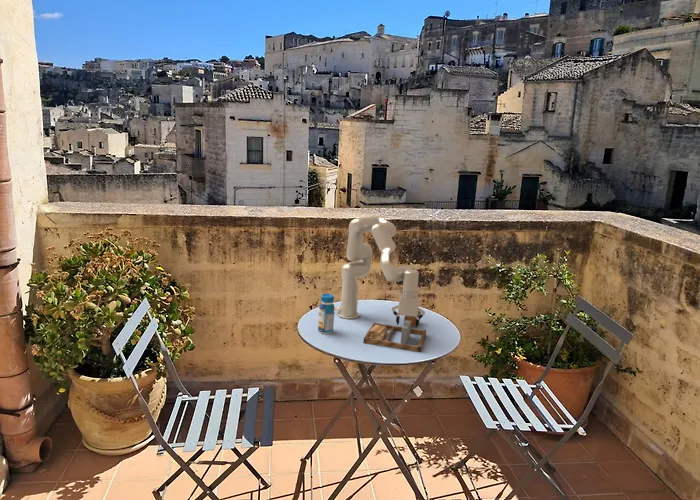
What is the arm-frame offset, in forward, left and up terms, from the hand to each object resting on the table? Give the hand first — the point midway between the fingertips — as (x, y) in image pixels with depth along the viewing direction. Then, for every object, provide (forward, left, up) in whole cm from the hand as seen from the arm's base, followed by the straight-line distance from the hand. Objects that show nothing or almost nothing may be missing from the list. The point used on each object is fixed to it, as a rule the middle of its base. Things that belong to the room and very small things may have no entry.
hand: (407, 325), depth 280 cm
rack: (-5, 0, -9) cm, 10 cm away
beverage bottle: (-42, -5, -9) cm, 44 cm away
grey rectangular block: (0, 0, -9) cm, 9 cm away
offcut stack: (-15, 0, -9) cm, 17 cm away
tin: (0, +24, -9) cm, 26 cm away
